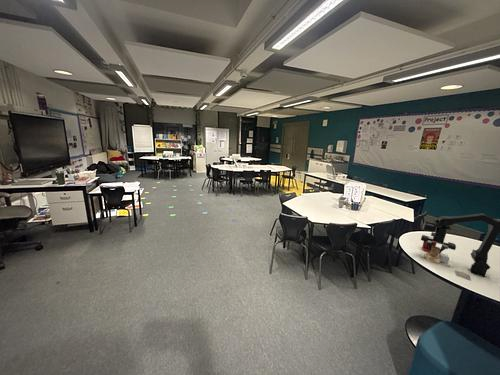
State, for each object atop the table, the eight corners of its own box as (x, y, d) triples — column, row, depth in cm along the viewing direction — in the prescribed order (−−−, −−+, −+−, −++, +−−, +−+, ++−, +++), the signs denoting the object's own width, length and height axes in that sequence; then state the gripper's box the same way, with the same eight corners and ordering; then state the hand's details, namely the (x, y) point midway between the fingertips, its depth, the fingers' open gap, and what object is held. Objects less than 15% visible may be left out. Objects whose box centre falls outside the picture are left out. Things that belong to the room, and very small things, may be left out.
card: (469, 275, 136) (469, 274, 136) (470, 280, 131) (471, 279, 131) (455, 270, 141) (455, 270, 140) (455, 275, 136) (456, 274, 135)
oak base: (437, 260, 153) (438, 255, 152) (438, 264, 147) (440, 259, 146) (425, 256, 157) (426, 252, 156) (426, 260, 151) (427, 256, 150)
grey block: (445, 260, 153) (447, 254, 151) (447, 263, 149) (449, 257, 147) (437, 258, 155) (439, 252, 153) (439, 261, 151) (441, 255, 149)
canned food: (430, 248, 168) (434, 236, 165) (435, 254, 161) (439, 241, 158) (419, 247, 170) (423, 235, 167) (424, 252, 163) (428, 239, 160)
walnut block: (438, 253, 151) (440, 247, 149) (438, 256, 147) (440, 250, 146) (430, 251, 153) (432, 245, 152) (430, 253, 150) (431, 247, 149)
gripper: (457, 234, 146) (451, 253, 150) (424, 225, 158) (419, 243, 162) (458, 239, 138) (451, 259, 142) (423, 230, 150) (418, 248, 154)
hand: (434, 252), depth 150 cm, fingers closed on walnut block, 4 cm apart
